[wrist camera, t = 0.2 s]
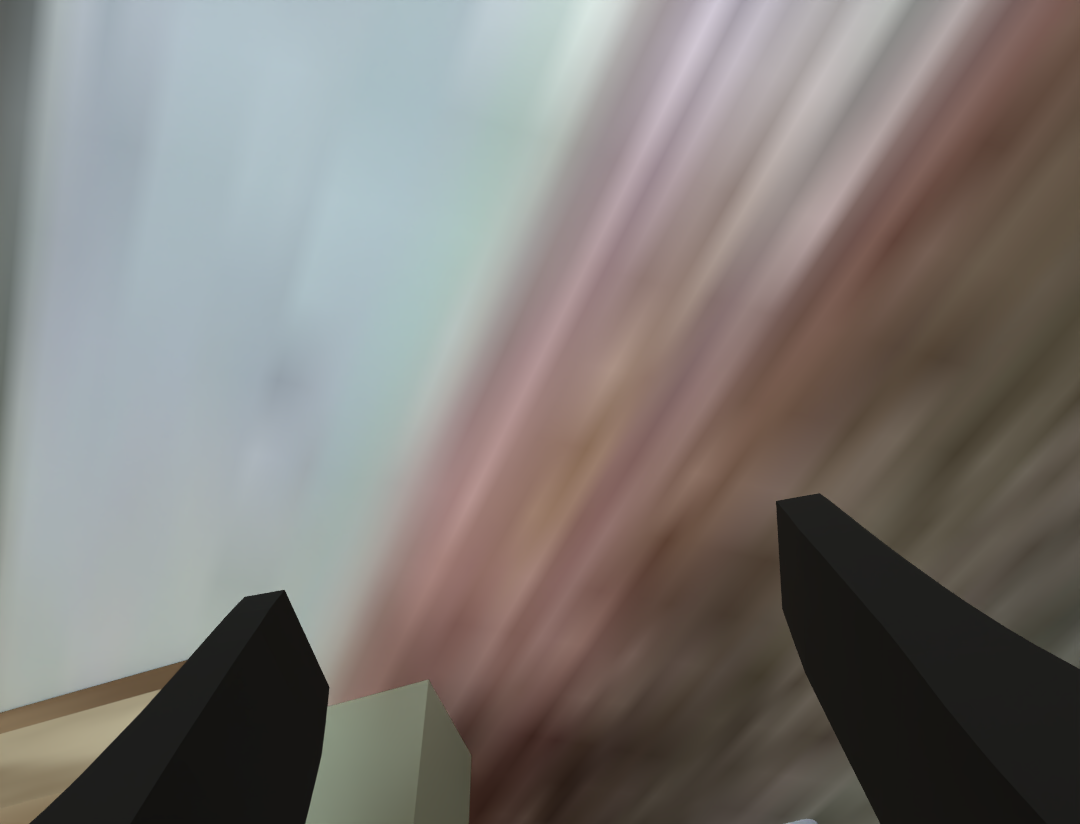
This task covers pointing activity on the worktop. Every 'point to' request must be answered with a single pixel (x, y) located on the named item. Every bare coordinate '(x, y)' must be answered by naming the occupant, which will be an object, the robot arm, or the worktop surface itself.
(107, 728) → the well block
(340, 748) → the sage peg
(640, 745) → the worktop surface
